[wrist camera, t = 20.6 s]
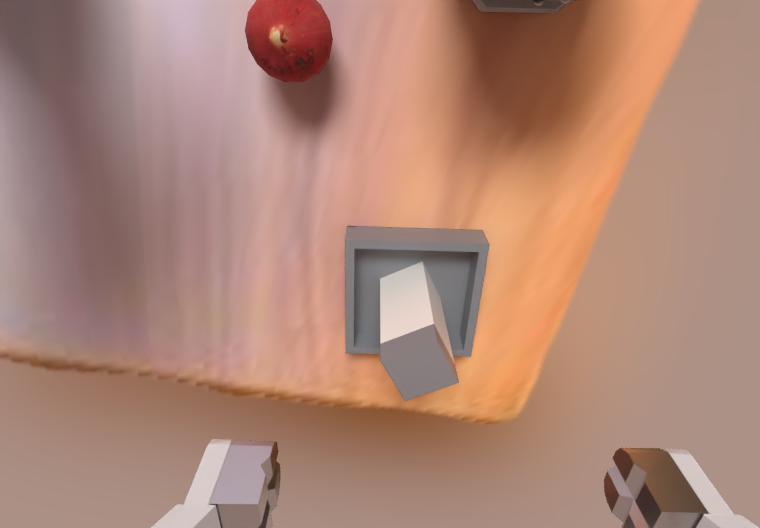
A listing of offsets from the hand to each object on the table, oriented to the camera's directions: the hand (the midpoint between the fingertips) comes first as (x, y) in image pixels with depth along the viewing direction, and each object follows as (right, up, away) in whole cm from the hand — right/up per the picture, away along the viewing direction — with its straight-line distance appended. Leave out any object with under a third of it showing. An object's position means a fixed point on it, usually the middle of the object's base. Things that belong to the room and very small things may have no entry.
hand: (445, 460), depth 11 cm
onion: (-8, +22, +24) cm, 33 cm away
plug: (+1, +2, +34) cm, 34 cm away
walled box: (+2, +3, +34) cm, 34 cm away
